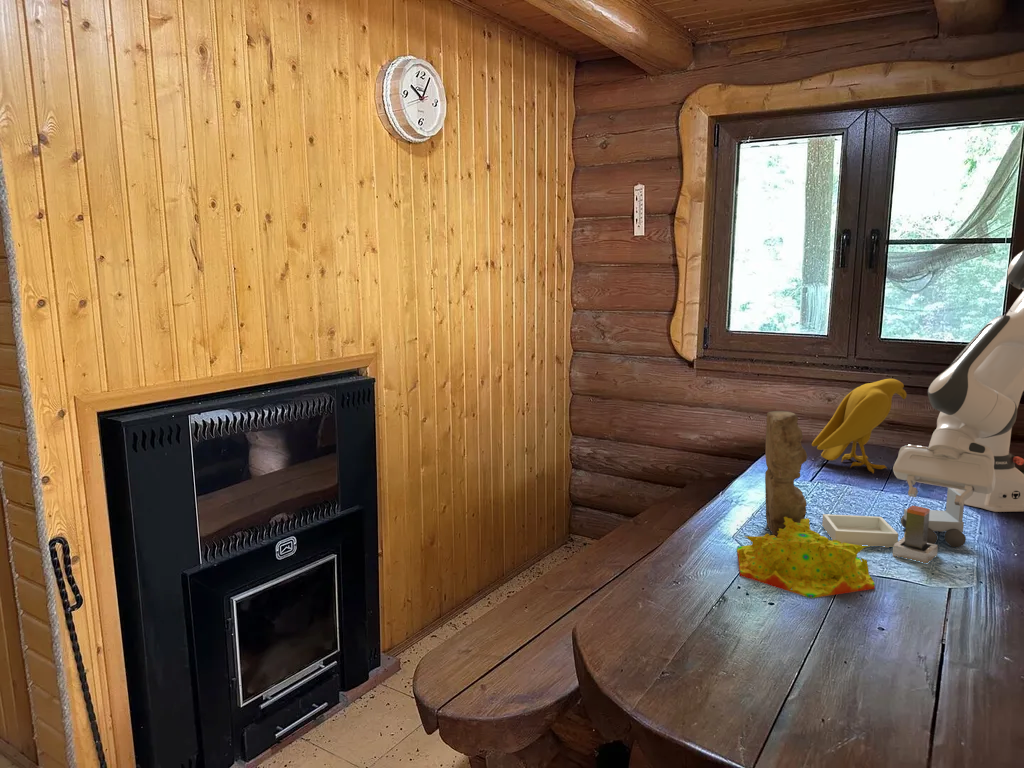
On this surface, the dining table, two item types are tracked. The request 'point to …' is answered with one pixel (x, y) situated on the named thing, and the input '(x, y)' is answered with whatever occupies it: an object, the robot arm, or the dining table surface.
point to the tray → (860, 530)
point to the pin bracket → (915, 552)
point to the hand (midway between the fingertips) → (934, 499)
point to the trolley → (945, 522)
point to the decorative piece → (804, 562)
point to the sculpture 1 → (783, 470)
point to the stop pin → (917, 528)
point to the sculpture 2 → (858, 421)
